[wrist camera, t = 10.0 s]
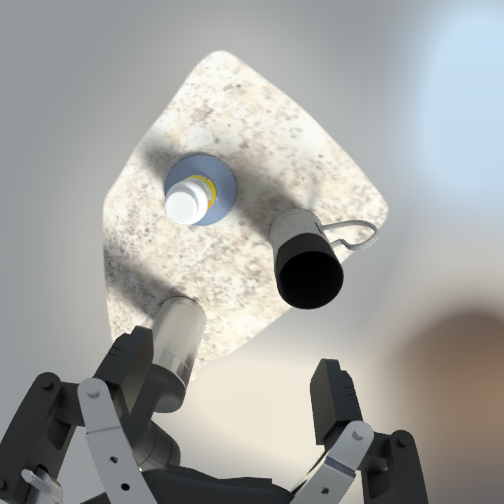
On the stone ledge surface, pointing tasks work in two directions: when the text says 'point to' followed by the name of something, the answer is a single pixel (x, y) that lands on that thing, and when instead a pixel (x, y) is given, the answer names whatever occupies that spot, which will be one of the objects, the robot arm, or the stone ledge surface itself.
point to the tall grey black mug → (308, 258)
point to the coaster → (219, 177)
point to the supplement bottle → (190, 199)
